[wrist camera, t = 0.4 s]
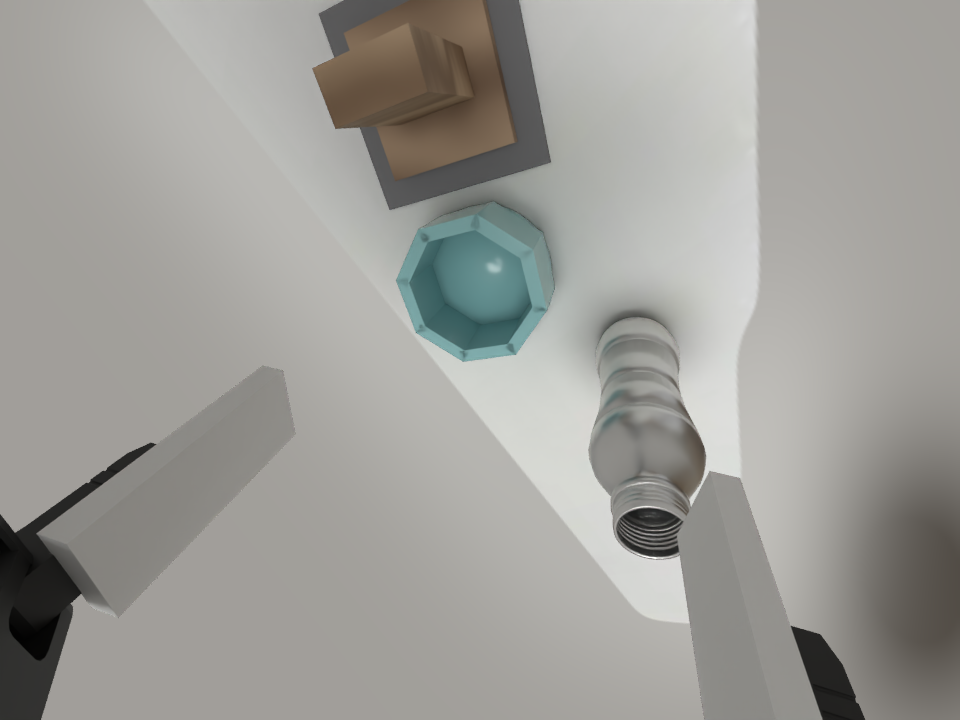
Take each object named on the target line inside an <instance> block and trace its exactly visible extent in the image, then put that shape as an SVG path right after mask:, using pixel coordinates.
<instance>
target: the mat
mask: <svg viewBox="0 0 960 720" xmlns="http://www.w3.org/2000/svg"><path fill="white" fill-rule="evenodd" d="M407 1H409V0H344V1H342V2H340V3H338V4H336V5H335V6H333V7H331V8H329V9H327V10H325V11H323V12H321V13H319V16H320V19H321V22H322V24H323V27H324V30H325V33H326V35H327V38H328V41H329V44H330V46H331V49H332V52H333V55H334V57H337V56H339V55H341V54H343V53H346V52H348V51H350V50H349V47H348V44H347V41H346V38H345V35H344V33H345V32H347V31H349V30H351V29H353V28H355V27H357V26H359V25H361V24H363V23H365V22H367V21H369V20H371V19H373V18H375V17H377V16H379V15H381V14H383V13H385V12H387V11H389V10H391V9H393V8H395V7H397V6H399V5H401V4H403V3H405V2H407ZM486 2H487V7H488V11H489V16H490V20H491V24H492V29H493V33H494V38H495V42H496V47H497V51H498V56H499V60H500V65H501V69H502V73H503V78H504V82H505V87H506V91H507V96H508V100H509V105H510V109H511V114H512V118H513V122H514V127H515V131H516V136H517V140H518V142H515V143H512V144H509V145H506V146H503V147H500V148H497V149H494V150H490V151H487V152H484V153H481V154H478V155H475V156H472V157H469V158H466V159H463V160H460V161H456V162H453V163H450V164H447V165H444V166H441V167H438V168H435V169H432V170H429V171H426V172H423V173H419V174H416V175H413V176H410V177H407V178H404V179H401V180H398V181H395V179H394V176H393V174H392V171H391V168H390V165H389V162H388V159H387V156H386V153H385V150H384V148H383V145H382V142H381V139H380V136H379V133H378V130H377V127H360V129H361V132H362V135H363V138H364V140H365V143H366V146H367V149H368V151H369V154H370V157H371V160H372V163H373V165H374V168H375V171H376V174H377V176H378V179H379V182H380V185H381V187H382V190H383V193H384V196H385V198H386V201H387V204H388V207H389V210H392V209H395V208H398V207H402V206H405V205H409V204H412V203H415V202H419V201H422V200H425V199H429V198H432V197H435V196H439V195H442V194H446V193H449V192H452V191H456V190H459V189H462V188H466V187H469V186H473V185H476V184H479V183H483V182H486V181H489V180H493V179H496V178H500V177H503V176H506V175H510V174H513V173H516V172H520V171H523V170H526V169H530V168H533V167H537V166H540V165H543V164H547V163H550V162H551V161H550V156H549V151H548V146H547V141H546V136H545V131H544V126H543V121H542V116H541V111H540V106H539V101H538V95H537V90H536V85H535V80H534V75H533V70H532V65H531V60H530V55H529V50H528V45H527V40H526V35H525V30H524V25H523V20H522V15H521V10H520V5H519V0H486Z"/></svg>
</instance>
